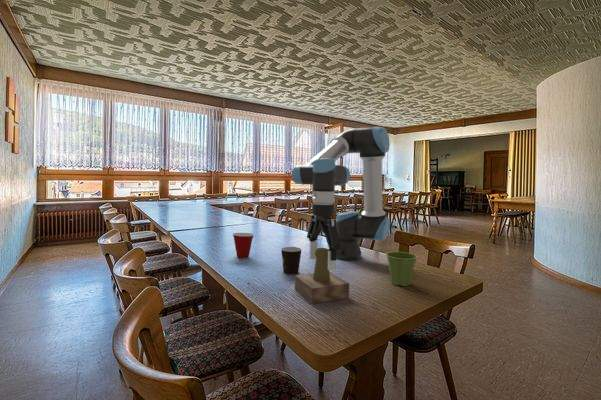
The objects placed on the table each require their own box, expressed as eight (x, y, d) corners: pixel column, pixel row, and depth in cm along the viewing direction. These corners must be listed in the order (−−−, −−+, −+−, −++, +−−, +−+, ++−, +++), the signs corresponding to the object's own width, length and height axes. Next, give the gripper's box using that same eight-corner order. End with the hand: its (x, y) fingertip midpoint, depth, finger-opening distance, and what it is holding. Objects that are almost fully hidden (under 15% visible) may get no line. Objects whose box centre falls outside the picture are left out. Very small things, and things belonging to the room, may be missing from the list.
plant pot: (421, 283, 120) (423, 255, 119) (407, 291, 112) (409, 260, 111) (393, 276, 128) (395, 249, 128) (379, 282, 120) (380, 254, 119)
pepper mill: (311, 276, 111) (312, 246, 110) (328, 276, 111) (329, 246, 110) (314, 282, 105) (314, 250, 104) (331, 281, 105) (332, 250, 104)
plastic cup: (258, 256, 156) (258, 232, 155) (243, 260, 147) (244, 236, 146) (242, 253, 162) (242, 230, 161) (227, 257, 153) (227, 233, 152)
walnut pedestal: (328, 284, 117) (328, 271, 117) (348, 297, 104) (349, 283, 104) (294, 288, 112) (295, 275, 111) (311, 303, 99) (312, 288, 98)
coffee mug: (298, 276, 126) (299, 252, 125) (278, 274, 128) (278, 250, 127) (304, 268, 137) (304, 246, 137) (285, 266, 139) (285, 244, 138)
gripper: (298, 200, 115) (298, 255, 117) (331, 207, 93) (330, 276, 95) (316, 200, 119) (315, 254, 120) (352, 206, 96) (350, 273, 98)
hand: (322, 263), depth 107 cm, fingers open, 13 cm apart
